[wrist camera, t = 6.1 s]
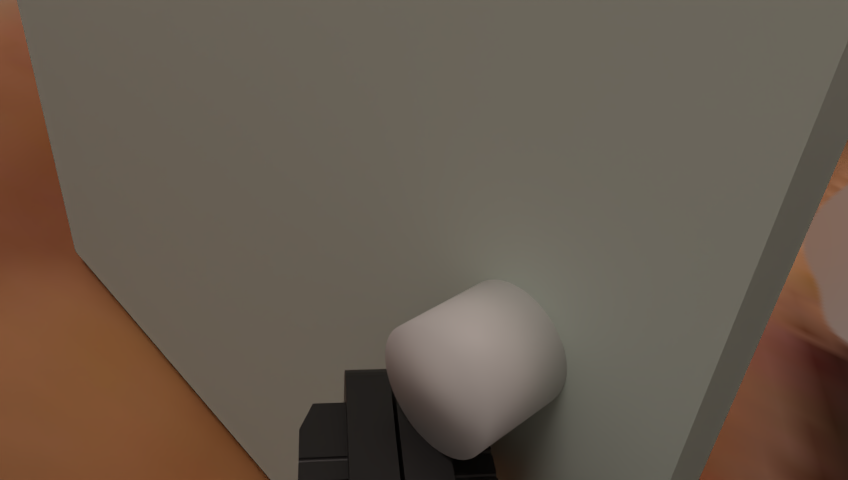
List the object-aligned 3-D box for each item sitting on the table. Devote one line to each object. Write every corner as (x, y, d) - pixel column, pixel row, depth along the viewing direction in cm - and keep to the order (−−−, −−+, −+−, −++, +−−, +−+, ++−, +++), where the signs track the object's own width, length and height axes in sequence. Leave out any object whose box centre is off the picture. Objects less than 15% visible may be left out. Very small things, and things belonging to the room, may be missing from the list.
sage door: (488, 861, 15) (949, -484, 4) (32, 266, 28) (-152, -396, 17) (578, 754, 16) (1085, -402, 5) (106, 240, 30) (-20, -379, 19)
